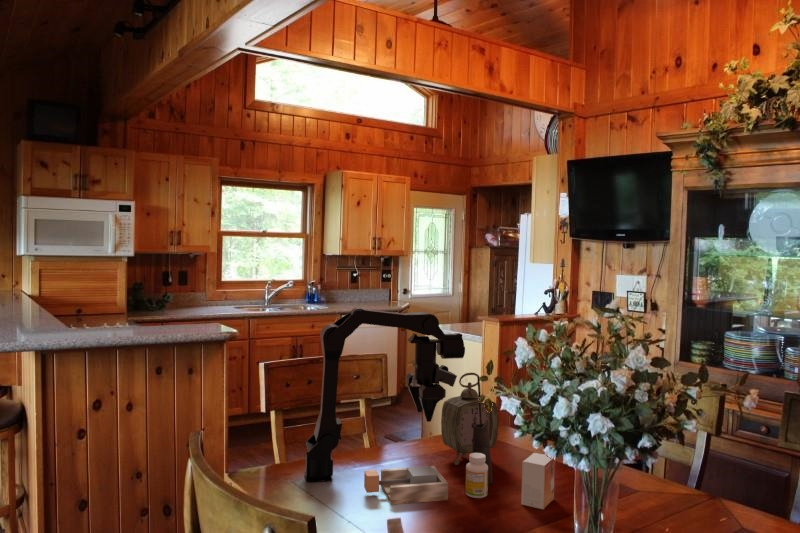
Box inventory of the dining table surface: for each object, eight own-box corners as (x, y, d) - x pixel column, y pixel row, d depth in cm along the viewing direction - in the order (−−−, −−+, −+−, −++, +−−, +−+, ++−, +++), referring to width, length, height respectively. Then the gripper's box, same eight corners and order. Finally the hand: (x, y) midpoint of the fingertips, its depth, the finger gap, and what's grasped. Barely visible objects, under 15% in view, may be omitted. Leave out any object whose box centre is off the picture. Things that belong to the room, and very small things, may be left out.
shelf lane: (390, 504, 148) (391, 487, 148) (380, 485, 160) (380, 469, 160) (447, 499, 152) (448, 483, 152) (433, 481, 163) (434, 465, 163)
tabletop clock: (454, 468, 173) (456, 377, 172) (437, 458, 181) (439, 371, 180) (497, 460, 180) (499, 373, 179) (479, 451, 188) (481, 367, 187)
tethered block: (367, 495, 150) (368, 478, 150) (363, 486, 156) (363, 469, 156) (436, 490, 154) (436, 473, 154) (429, 481, 160) (429, 464, 160)
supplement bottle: (474, 488, 159) (475, 450, 159) (491, 494, 155) (493, 455, 155) (460, 493, 156) (461, 454, 155) (478, 500, 152) (479, 460, 151)
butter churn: (485, 471, 171) (488, 368, 170) (509, 483, 163) (512, 375, 162) (458, 478, 166) (461, 372, 165) (482, 490, 158) (484, 379, 157)
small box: (543, 510, 147) (544, 465, 146) (520, 504, 150) (521, 461, 149) (554, 499, 154) (555, 456, 153) (532, 493, 157) (533, 451, 156)
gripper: (465, 365, 163) (464, 425, 163) (443, 352, 181) (442, 406, 181) (423, 366, 160) (422, 427, 161) (405, 353, 178) (404, 408, 179)
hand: (424, 416), depth 170 cm, fingers open, 9 cm apart
